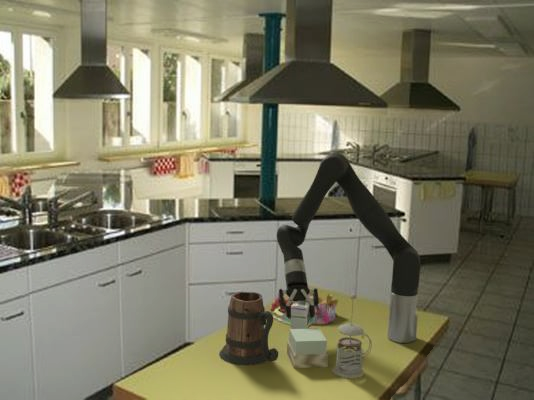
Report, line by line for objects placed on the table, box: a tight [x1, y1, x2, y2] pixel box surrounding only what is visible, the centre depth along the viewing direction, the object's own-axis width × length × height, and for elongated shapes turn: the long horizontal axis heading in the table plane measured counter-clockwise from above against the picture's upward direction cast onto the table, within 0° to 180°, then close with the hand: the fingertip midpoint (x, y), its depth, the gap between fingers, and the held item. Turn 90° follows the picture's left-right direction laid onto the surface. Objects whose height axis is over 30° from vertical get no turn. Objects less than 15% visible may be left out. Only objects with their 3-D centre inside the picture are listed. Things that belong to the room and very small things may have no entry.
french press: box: [332, 293, 373, 379], centre depth 179 cm, size 10×12×25 cm
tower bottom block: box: [286, 341, 329, 369], centre depth 188 cm, size 11×11×4 cm
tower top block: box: [288, 328, 328, 355], centre depth 187 cm, size 10×10×4 cm
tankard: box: [218, 291, 279, 367], centre depth 187 cm, size 24×17×20 cm
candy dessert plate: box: [269, 293, 339, 327], centre depth 227 cm, size 25×24×9 cm
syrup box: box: [289, 301, 310, 330], centre depth 200 cm, size 6×6×14 cm
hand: (301, 317), depth 198 cm, fingers closed on syrup box, 7 cm apart
